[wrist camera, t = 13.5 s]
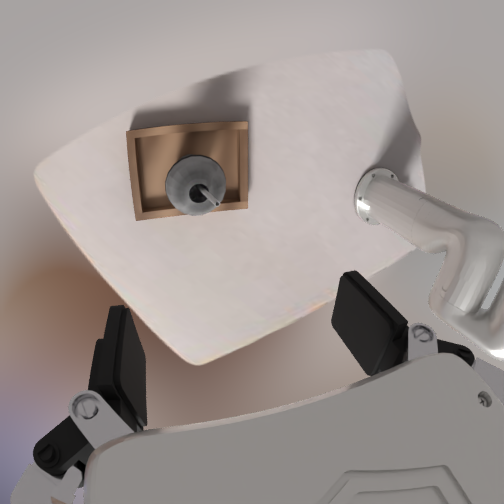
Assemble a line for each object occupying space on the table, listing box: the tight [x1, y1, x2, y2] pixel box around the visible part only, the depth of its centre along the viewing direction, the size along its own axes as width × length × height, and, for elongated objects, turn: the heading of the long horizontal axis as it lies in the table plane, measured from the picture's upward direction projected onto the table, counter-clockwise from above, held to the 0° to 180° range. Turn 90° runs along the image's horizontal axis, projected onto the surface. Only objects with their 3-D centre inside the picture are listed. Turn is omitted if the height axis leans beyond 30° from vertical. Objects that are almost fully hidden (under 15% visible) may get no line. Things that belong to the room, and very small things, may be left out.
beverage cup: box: [165, 154, 226, 216], centre depth 33 cm, size 7×7×20 cm
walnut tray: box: [126, 121, 248, 221], centre depth 41 cm, size 18×14×3 cm
